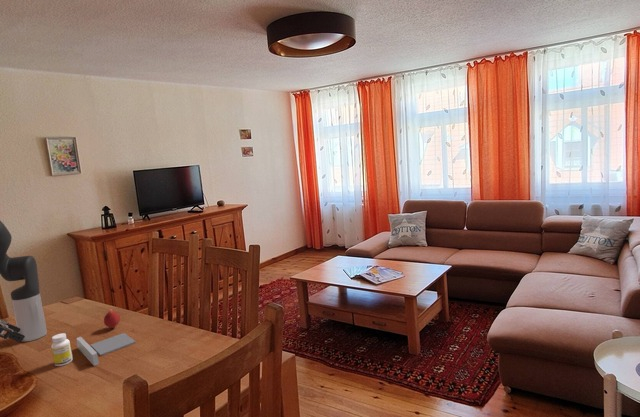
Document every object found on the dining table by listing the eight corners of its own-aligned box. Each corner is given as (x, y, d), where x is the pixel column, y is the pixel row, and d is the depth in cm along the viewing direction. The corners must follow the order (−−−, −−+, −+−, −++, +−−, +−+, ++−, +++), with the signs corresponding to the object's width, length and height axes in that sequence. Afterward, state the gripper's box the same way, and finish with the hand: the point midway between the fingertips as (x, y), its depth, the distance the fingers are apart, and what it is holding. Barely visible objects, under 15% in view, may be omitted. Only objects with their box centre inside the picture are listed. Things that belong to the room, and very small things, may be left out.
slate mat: (90, 345, 148) (90, 344, 147) (124, 334, 156) (124, 332, 156) (100, 355, 139) (100, 354, 139) (135, 342, 147) (135, 341, 147)
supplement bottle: (60, 359, 139) (55, 333, 137) (76, 357, 139) (71, 331, 138) (51, 367, 133) (46, 340, 132) (67, 365, 134) (62, 338, 132)
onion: (114, 331, 159) (111, 312, 158) (102, 331, 160) (99, 312, 159) (124, 325, 164) (121, 307, 163) (112, 325, 166) (109, 306, 164)
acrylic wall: (78, 348, 146) (76, 338, 146) (82, 346, 147) (80, 336, 147) (94, 366, 132) (92, 354, 132) (99, 364, 133) (97, 353, 133)
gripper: (-22, 307, 114) (33, 330, 124) (-26, 297, 124) (25, 319, 134) (-43, 331, 111) (15, 353, 121) (-45, 319, 121) (8, 339, 131)
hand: (20, 335), depth 127 cm, fingers open, 8 cm apart
